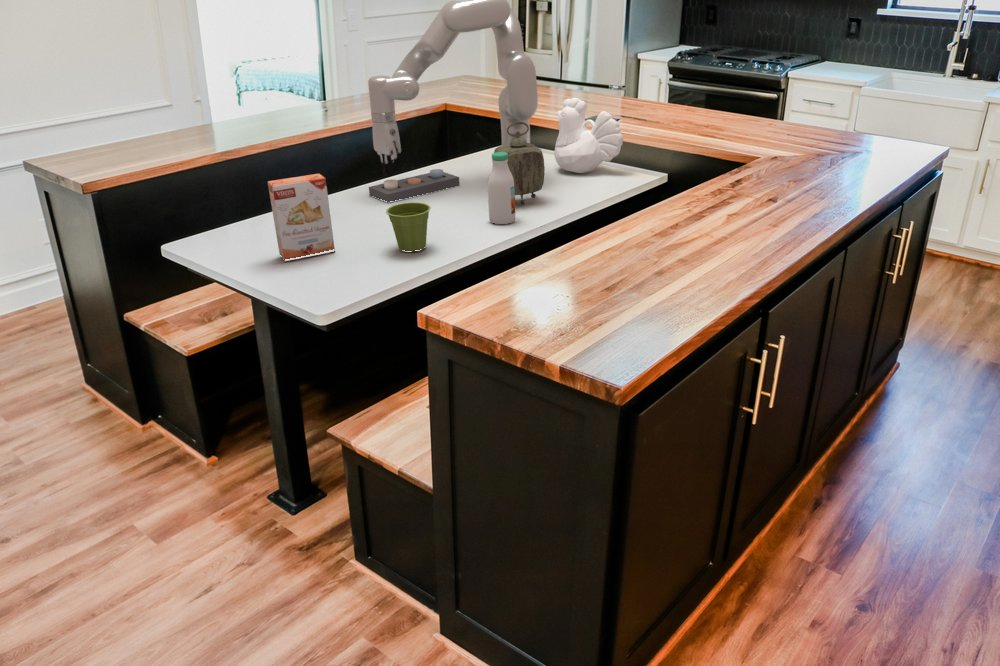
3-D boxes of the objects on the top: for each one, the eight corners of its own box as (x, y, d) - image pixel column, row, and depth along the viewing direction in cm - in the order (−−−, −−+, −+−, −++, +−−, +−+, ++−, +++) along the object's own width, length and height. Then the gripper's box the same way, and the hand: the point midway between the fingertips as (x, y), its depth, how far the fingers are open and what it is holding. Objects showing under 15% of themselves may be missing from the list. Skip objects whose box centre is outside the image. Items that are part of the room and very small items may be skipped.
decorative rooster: (545, 171, 279) (544, 99, 268) (575, 162, 289) (575, 92, 278) (599, 183, 263) (600, 107, 252) (629, 173, 272) (631, 100, 261)
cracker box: (285, 263, 208) (271, 185, 198) (279, 256, 212) (266, 180, 203) (336, 253, 213) (325, 177, 204) (330, 246, 218) (319, 172, 209)
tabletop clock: (537, 196, 253) (535, 117, 241) (547, 204, 245) (546, 122, 234) (494, 202, 249) (490, 121, 238) (502, 210, 241) (499, 127, 230)
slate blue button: (446, 179, 268) (445, 170, 266) (435, 182, 265) (434, 173, 264) (438, 177, 271) (438, 168, 269) (428, 179, 268) (427, 170, 267)
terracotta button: (424, 188, 263) (423, 179, 262) (413, 191, 261) (412, 182, 260) (417, 185, 266) (416, 177, 265) (405, 188, 264) (405, 179, 263)
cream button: (400, 190, 258) (399, 181, 257) (389, 193, 255) (388, 184, 254) (393, 187, 261) (392, 178, 260) (382, 190, 259) (381, 181, 257)
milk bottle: (506, 226, 227) (504, 157, 218) (484, 223, 231) (480, 155, 222) (520, 219, 233) (518, 151, 224) (498, 215, 236) (495, 149, 227)
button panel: (459, 185, 267) (459, 177, 266) (388, 203, 252) (387, 194, 251) (439, 179, 276) (439, 170, 274) (369, 195, 261) (368, 186, 259)
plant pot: (395, 241, 219) (391, 202, 214) (437, 241, 218) (434, 201, 213) (385, 256, 209) (381, 216, 204) (429, 256, 208) (426, 215, 203)
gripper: (406, 119, 244) (410, 177, 253) (381, 112, 255) (386, 168, 263) (385, 122, 240) (390, 181, 248) (361, 115, 251) (367, 172, 259)
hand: (388, 174), depth 256 cm, fingers closed
